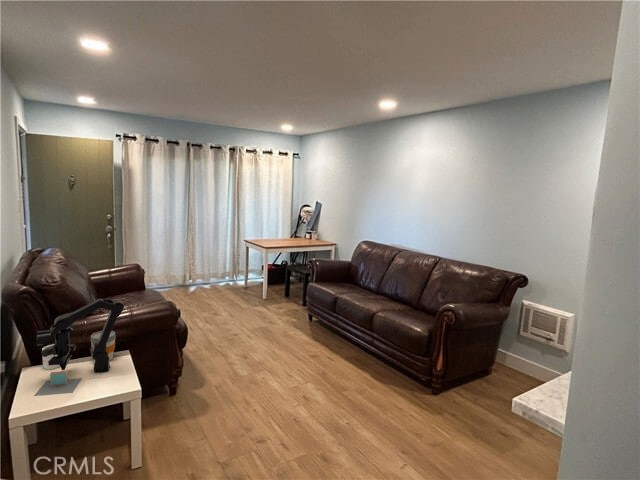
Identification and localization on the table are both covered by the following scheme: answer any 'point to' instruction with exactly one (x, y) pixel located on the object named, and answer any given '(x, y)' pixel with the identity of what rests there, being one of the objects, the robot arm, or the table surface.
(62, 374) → the tile
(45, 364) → the mug
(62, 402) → the table surface
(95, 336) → the reusable coffee cup
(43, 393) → the mat
